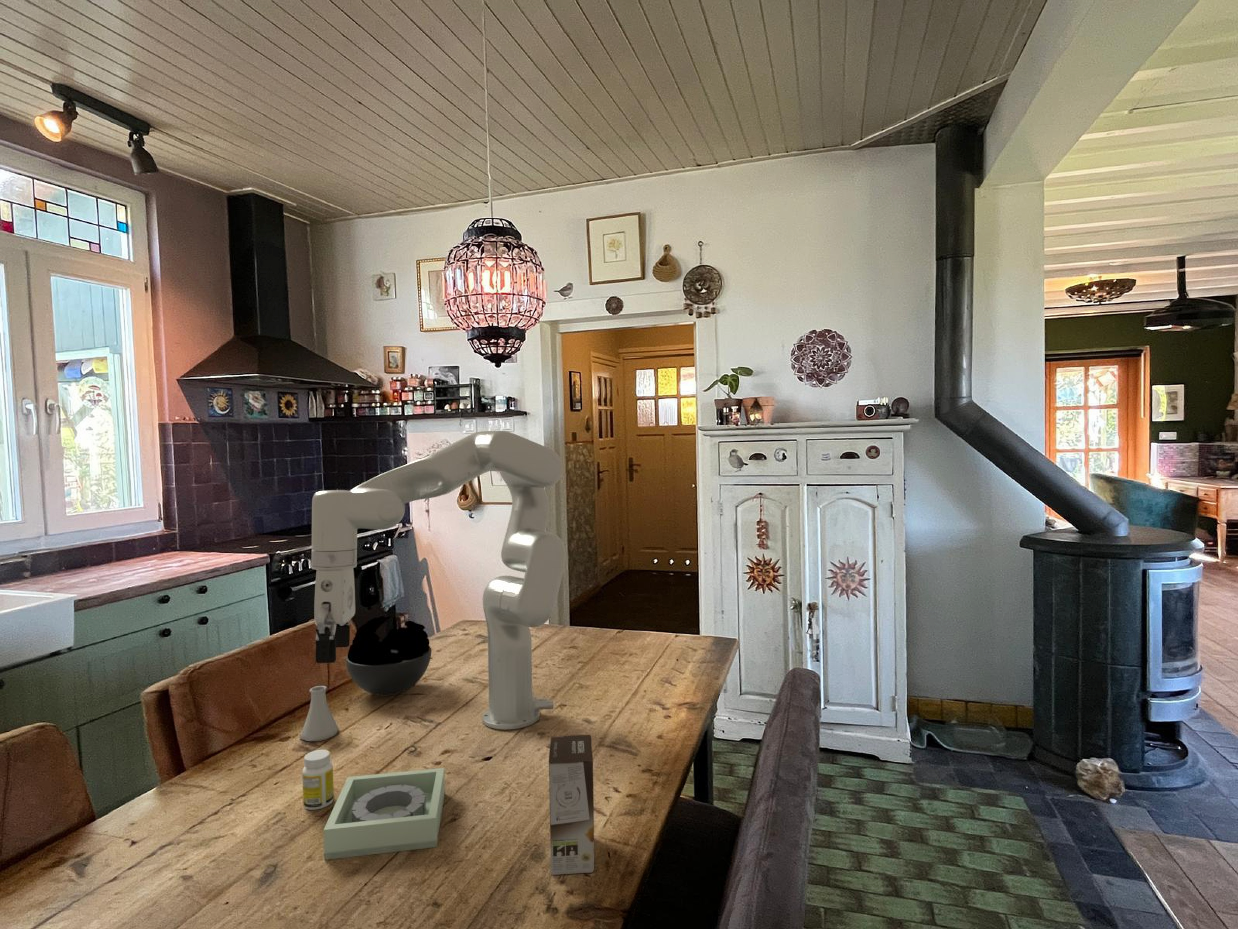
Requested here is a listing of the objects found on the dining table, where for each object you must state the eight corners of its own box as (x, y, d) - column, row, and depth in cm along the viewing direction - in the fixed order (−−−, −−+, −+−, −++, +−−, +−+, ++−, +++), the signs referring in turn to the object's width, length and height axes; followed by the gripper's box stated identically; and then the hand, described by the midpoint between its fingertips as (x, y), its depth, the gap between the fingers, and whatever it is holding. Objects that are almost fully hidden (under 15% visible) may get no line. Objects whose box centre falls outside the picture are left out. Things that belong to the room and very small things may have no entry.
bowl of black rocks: (335, 691, 168) (333, 616, 167) (414, 673, 180) (412, 603, 179) (362, 716, 152) (359, 633, 151) (445, 694, 164) (443, 618, 164)
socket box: (444, 793, 118) (444, 767, 118) (436, 847, 102) (435, 817, 102) (348, 803, 115) (347, 777, 115) (324, 860, 99) (323, 830, 99)
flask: (324, 744, 138) (322, 695, 138) (292, 741, 140) (291, 693, 139) (345, 729, 145) (343, 683, 145) (315, 726, 147) (313, 681, 146)
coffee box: (595, 873, 95) (593, 761, 95) (550, 876, 95) (548, 764, 94) (592, 835, 104) (591, 733, 104) (551, 838, 104) (549, 735, 103)
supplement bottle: (328, 793, 118) (326, 745, 118) (338, 803, 115) (336, 754, 115) (299, 803, 115) (297, 754, 115) (308, 814, 112) (307, 764, 111)
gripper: (344, 566, 113) (343, 668, 113) (366, 552, 130) (365, 641, 130) (296, 567, 112) (295, 670, 112) (325, 552, 129) (324, 642, 129)
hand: (333, 654), depth 121 cm, fingers open, 9 cm apart
